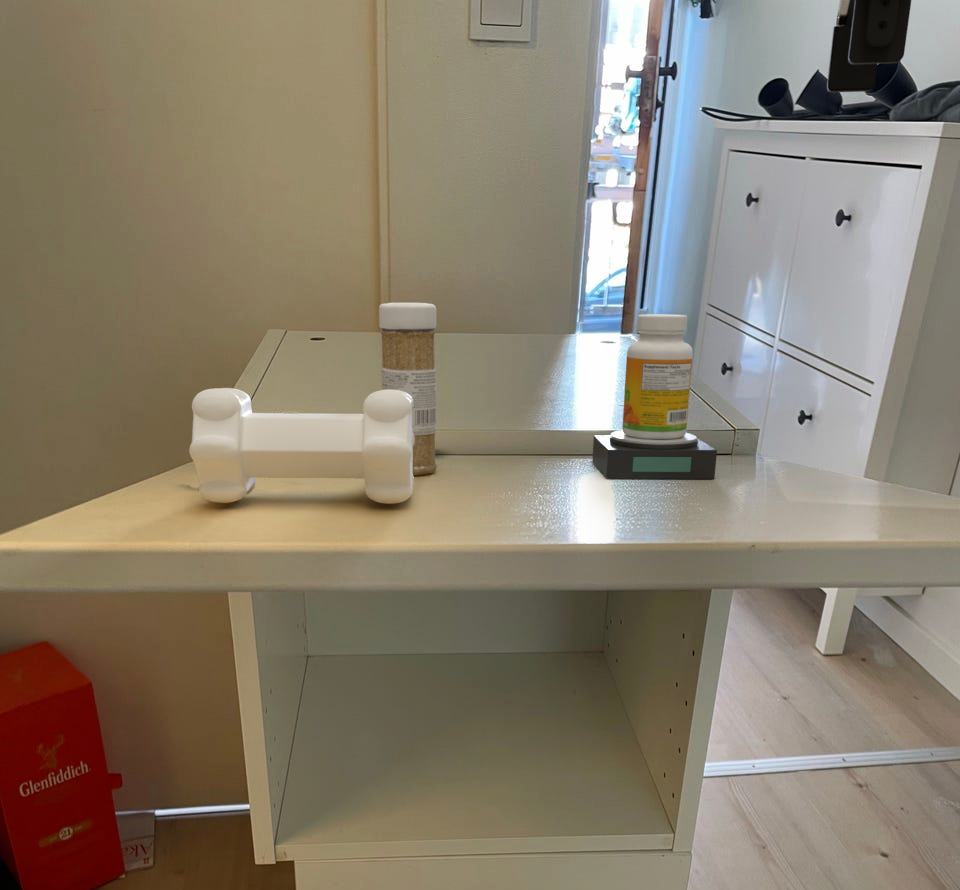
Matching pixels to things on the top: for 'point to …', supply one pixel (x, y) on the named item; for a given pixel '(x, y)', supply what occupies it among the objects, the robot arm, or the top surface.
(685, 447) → the scale
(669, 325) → the supplement bottle
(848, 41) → the robot arm
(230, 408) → the white bone
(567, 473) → the top surface
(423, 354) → the sprinkles bottle
